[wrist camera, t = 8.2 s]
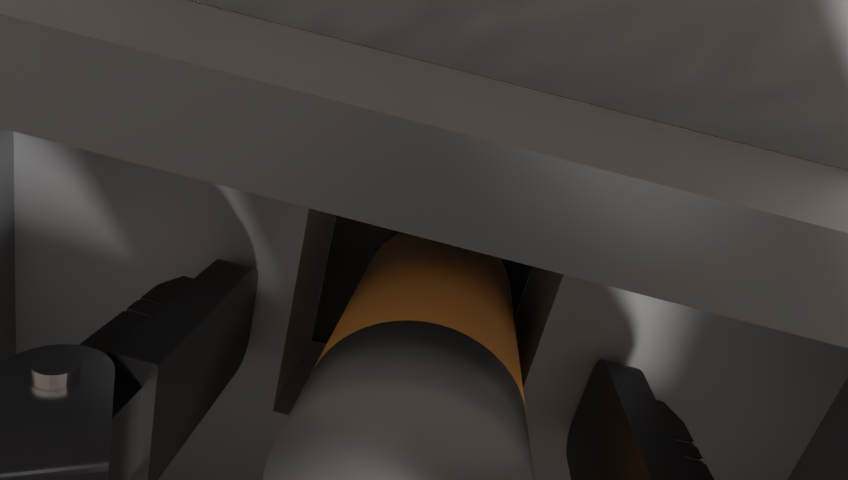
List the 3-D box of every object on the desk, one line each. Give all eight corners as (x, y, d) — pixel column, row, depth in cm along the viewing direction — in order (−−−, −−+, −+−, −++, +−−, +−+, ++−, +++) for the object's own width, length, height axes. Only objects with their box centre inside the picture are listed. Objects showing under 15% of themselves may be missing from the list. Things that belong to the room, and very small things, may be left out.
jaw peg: (380, 207, 14) (285, 353, 7) (528, 245, 14) (574, 429, 7) (351, 339, 15) (245, 571, 8) (488, 375, 15) (493, 639, 8)
